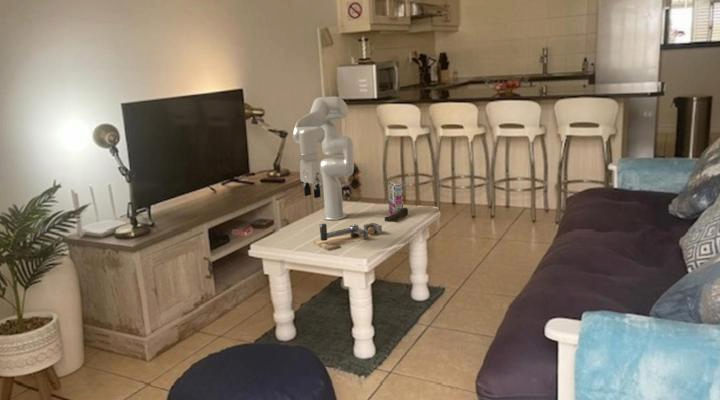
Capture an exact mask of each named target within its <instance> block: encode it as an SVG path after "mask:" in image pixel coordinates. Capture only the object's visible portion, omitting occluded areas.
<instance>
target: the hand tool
mask: <svg viewBox="0 0 720 400" xmlns="http://www.w3.org/2000/svg"><path fill="white" fill-rule="evenodd" d="M408 215H409V209H408V207H403V208H402V209H400V211H399V212H397V213H395V214H391V215H388V216H385V217H384V222H387V223H391V222H396V221H397V220H400V219H401V218H404V217H405V218H406V217H408Z"/></svg>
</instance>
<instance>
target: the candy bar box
mask: <svg viewBox="0 0 720 400" xmlns="http://www.w3.org/2000/svg"><path fill="white" fill-rule="evenodd" d="M387 185H388V187H387V189H388V213H390V214H391V215H393V214H395V213H397V212H399V211H400V209H402V208H404V194H403V193H404V191H403V184H402V183H400V182H398V181H388V182H387Z"/></svg>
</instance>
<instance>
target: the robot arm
mask: <svg viewBox="0 0 720 400" xmlns="http://www.w3.org/2000/svg"><path fill="white" fill-rule="evenodd" d="M348 113H349V108H348V105H347V102H345V101H344V100H343V98H341V97H340V96H319V97H317V98H315V99H314V100H313V103H312V106H311V109H310V111H309V113H308V114H305V115H304V116H303V117H301V118H299V120H297V121H296V123H295V125H294V128H293V133H292V137H293V138H292V139H293V141H294V142H295V143H296V144H298V145H299V147H300V151H299V152H300V159H301V160H300V163H299V164H300V165H299V172H300V173H299V179H300V181H301V183H302V187H303V191H304V196H305V197H307V196H311V195H312V189H311V186H310V185H311V184H312V185H313V188H314V189H313V198H314V199H319V198H321V188H323V189H322V190H323V202H324V203H323V204H324V209H323V211H324V214H322V219H323V220H325V221H326V220H327V221H337V220H344V219H345V218H346V217H347V214H346V213H345V212H344V206H343V191H342V183H341V181H340V180H339V178H338V177H349V176H350V177H351V176H353V174H354V172H355V171H354V170H355V163H354V157H355V156H354V144H353V140H352V138H351V137H349V136H346V135H345V136H344V135H343V136H341V135H340V136H339V128H338V125H337V123H336V122H335V121H334V120H338V119H339V120H343V119H345V118H347V116H348ZM320 143H321V150H322V153H323V154H324V155H326V156H343V157H327V158H323V159H321V161H319V151H318V144H320Z"/></svg>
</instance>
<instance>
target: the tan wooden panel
mask: <svg viewBox="0 0 720 400" xmlns="http://www.w3.org/2000/svg"><path fill="white" fill-rule="evenodd" d="M382 225H383V224H382ZM382 225H381V224H378V223H375V222H371V223H367V224H366V223H365V224H363V230H366V231H367V230H368V228H369V227H374V228H375V233H374V234H372V235H371V234H369V233H368V236H369V238H375V237H379V236H382V235H384V233H383V228H382V227H383V226H382ZM369 238H368V239H369ZM327 239H328V240H325V241H322V240H321V239H317V240H314V241H313V244H314V245H315V246H318V247H320V248H321V249H323V250H326V251H330V250H335V249H339V248H342V245H346V244H349V243H354V242H357V241H362V240H366V238H364V237H363V234H361V235H359V236H357V237H351V236H350V233H348V234H344V235H339V236H335V237H331V238H327Z"/></svg>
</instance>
